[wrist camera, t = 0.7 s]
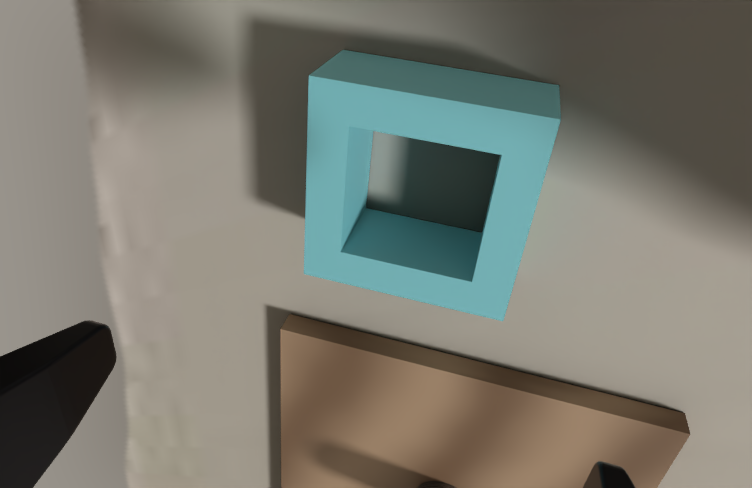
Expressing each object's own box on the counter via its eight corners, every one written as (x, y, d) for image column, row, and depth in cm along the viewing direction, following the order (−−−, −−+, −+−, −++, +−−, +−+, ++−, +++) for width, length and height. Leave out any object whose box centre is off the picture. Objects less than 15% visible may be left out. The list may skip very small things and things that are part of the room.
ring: (559, 85, 16) (561, 119, 14) (508, 268, 20) (502, 321, 17) (343, 49, 17) (308, 75, 15) (332, 229, 21) (303, 273, 18)
